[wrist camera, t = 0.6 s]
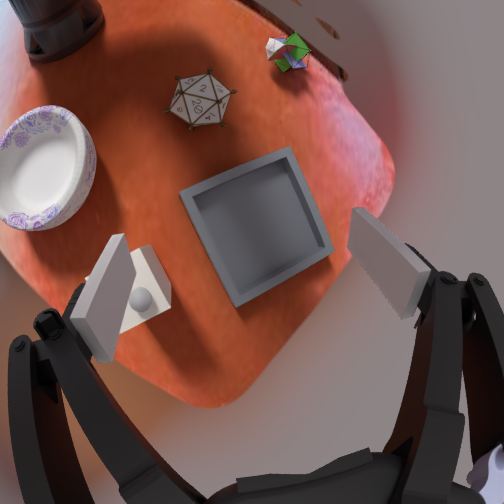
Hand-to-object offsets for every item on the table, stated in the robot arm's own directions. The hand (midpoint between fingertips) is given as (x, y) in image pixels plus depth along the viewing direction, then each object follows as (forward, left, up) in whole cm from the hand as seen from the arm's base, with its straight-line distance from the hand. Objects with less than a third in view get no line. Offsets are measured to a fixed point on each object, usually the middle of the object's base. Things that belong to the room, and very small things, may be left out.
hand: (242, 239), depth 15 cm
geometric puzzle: (-21, +24, -22) cm, 38 cm away
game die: (-16, +7, -22) cm, 28 cm away
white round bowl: (-17, -15, -22) cm, 32 cm away
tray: (+2, +8, -21) cm, 23 cm away
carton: (+1, -9, -22) cm, 24 cm away
